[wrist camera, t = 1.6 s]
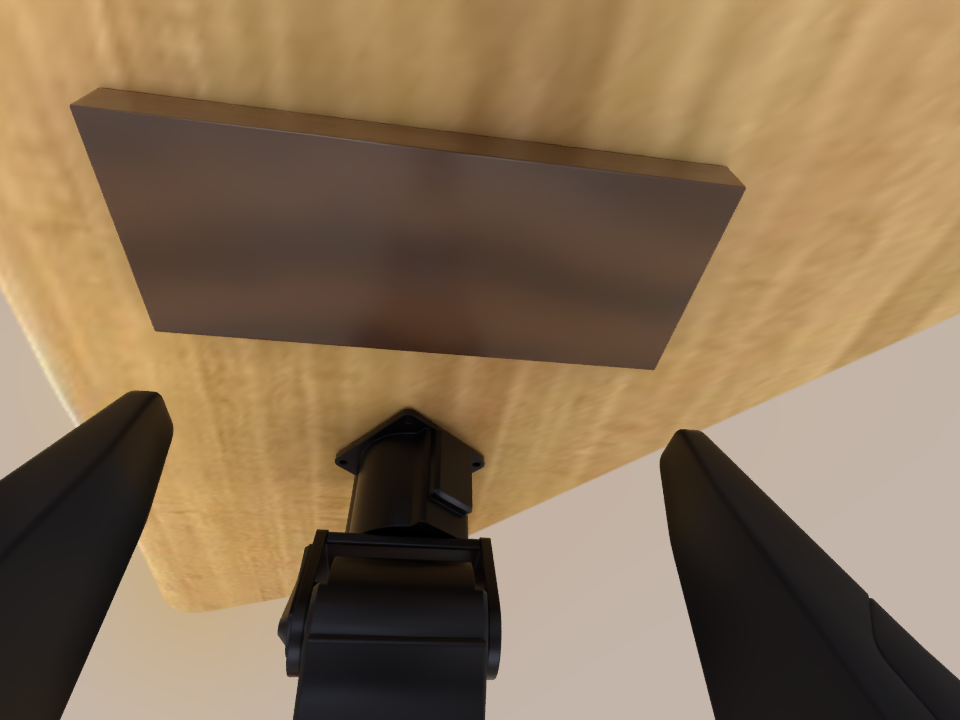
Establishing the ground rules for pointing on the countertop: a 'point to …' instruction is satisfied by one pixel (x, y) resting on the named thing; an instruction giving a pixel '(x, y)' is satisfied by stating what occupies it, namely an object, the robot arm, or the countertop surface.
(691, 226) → the cutting board
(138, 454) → the robot arm
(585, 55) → the countertop surface
